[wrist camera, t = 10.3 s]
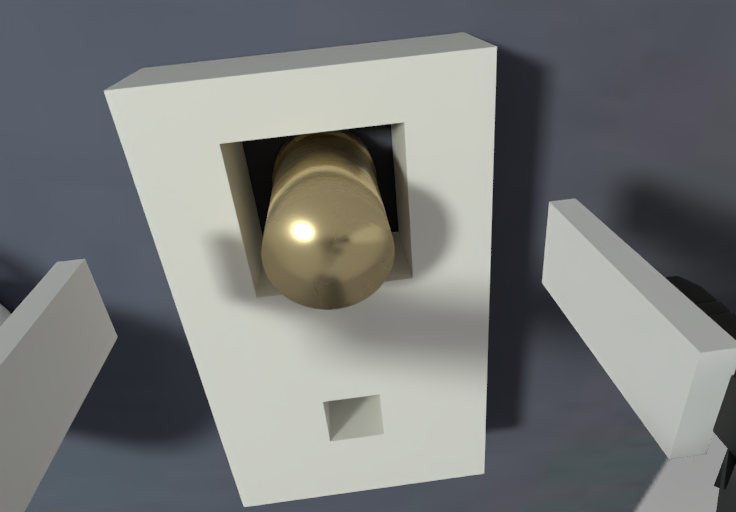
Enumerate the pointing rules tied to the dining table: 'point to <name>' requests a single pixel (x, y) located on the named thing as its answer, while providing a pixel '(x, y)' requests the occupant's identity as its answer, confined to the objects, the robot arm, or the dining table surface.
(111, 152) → the dining table surface
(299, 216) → the cylinder
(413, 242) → the block
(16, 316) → the robot arm
